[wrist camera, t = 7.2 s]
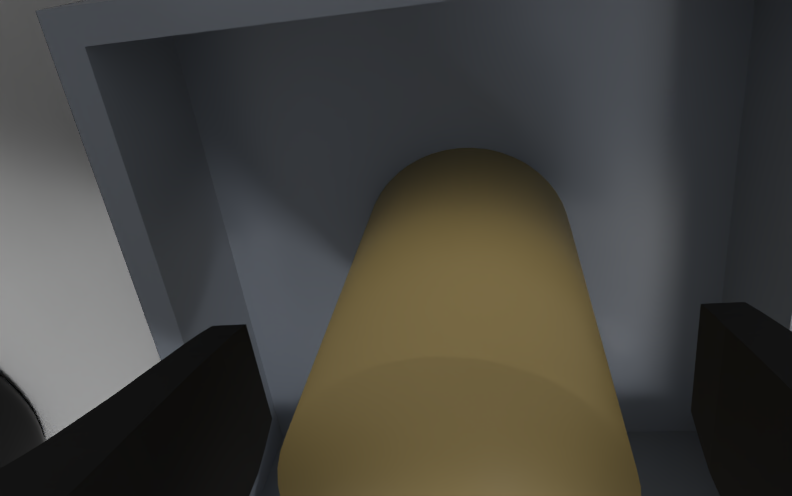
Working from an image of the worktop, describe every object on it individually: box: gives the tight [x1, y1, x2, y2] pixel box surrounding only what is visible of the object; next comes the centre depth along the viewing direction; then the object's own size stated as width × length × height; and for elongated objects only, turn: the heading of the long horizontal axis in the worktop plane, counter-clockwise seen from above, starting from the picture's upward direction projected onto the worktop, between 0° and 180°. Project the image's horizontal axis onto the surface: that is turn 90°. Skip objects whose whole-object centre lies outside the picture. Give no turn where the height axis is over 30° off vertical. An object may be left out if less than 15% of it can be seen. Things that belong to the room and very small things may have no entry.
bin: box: [36, 0, 792, 496], centre depth 13 cm, size 12×12×4 cm
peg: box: [277, 148, 641, 496], centre depth 11 cm, size 4×4×7 cm
